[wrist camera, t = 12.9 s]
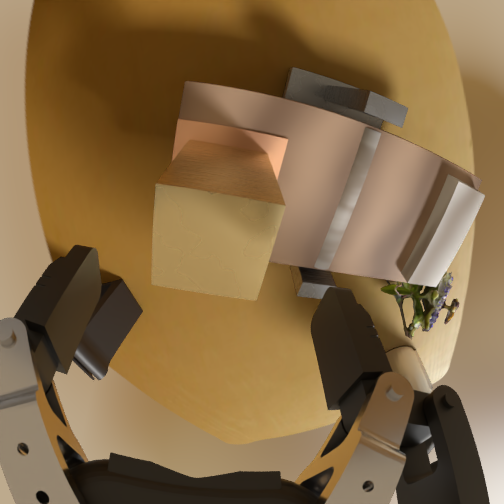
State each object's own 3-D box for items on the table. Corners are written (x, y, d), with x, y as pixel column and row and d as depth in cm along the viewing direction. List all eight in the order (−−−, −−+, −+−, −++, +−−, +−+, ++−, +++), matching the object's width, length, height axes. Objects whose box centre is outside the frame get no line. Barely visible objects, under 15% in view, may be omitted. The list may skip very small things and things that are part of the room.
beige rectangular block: (267, 153, 18) (285, 205, 11) (250, 221, 20) (256, 300, 14) (189, 139, 17) (155, 183, 10) (179, 209, 20) (151, 284, 13)
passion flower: (412, 255, 42) (439, 322, 38) (359, 276, 41) (386, 349, 37) (447, 225, 32) (482, 306, 28) (387, 247, 31) (425, 342, 27)
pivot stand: (382, 99, 24) (446, 118, 15) (330, 244, 34) (360, 309, 25) (290, 67, 23) (321, 61, 14) (248, 229, 32) (253, 297, 23)
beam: (467, 171, 21) (492, 187, 17) (418, 272, 27) (434, 295, 24) (191, 80, 17) (180, 81, 14) (170, 230, 23) (160, 256, 20)
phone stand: (97, 317, 40) (73, 380, 30) (77, 289, 37) (44, 352, 27) (143, 310, 39) (123, 380, 29) (123, 278, 36) (94, 349, 26)
